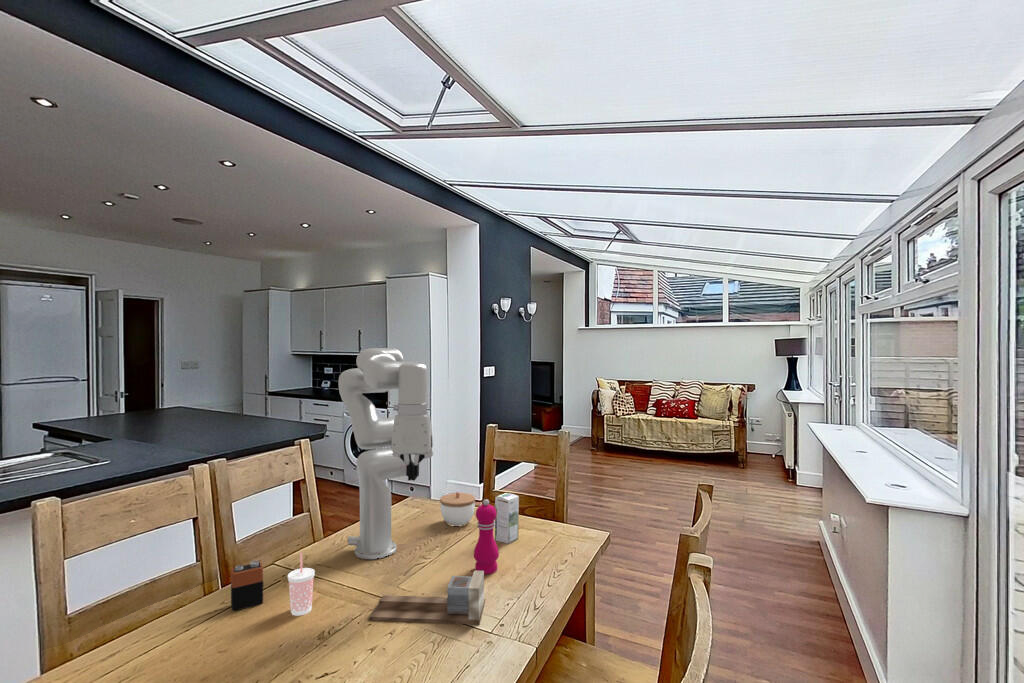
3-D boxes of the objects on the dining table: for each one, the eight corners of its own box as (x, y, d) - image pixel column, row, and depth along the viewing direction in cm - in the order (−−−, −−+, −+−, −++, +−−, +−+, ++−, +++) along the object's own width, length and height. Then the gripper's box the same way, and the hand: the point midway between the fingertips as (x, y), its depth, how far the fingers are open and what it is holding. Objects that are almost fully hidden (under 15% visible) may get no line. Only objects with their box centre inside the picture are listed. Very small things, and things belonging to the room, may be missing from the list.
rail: (369, 620, 116) (369, 585, 116) (383, 598, 126) (383, 566, 126) (479, 624, 114) (479, 589, 114) (485, 602, 124) (485, 569, 124)
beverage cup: (287, 607, 122) (287, 550, 122) (314, 601, 125) (314, 545, 125) (287, 619, 117) (287, 559, 117) (315, 614, 119) (315, 555, 119)
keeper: (447, 613, 117) (447, 587, 117) (452, 600, 123) (452, 575, 123) (468, 614, 117) (468, 588, 117) (472, 601, 123) (472, 576, 123)
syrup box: (504, 535, 168) (504, 492, 168) (519, 539, 165) (519, 495, 165) (494, 540, 163) (494, 496, 164) (509, 544, 160) (508, 499, 160)
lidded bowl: (435, 528, 174) (435, 497, 174) (446, 516, 187) (446, 486, 187) (470, 530, 172) (470, 498, 172) (478, 518, 185) (478, 488, 185)
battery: (263, 604, 124) (263, 563, 124) (232, 612, 120) (232, 570, 120) (261, 596, 127) (261, 557, 128) (230, 604, 124) (230, 563, 124)
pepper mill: (495, 576, 138) (495, 504, 138) (470, 573, 140) (470, 502, 140) (501, 565, 145) (501, 496, 145) (477, 562, 147) (477, 494, 147)
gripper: (380, 411, 129) (380, 482, 129) (437, 412, 127) (437, 483, 128) (389, 407, 136) (389, 474, 136) (443, 408, 135) (443, 475, 135)
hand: (412, 478), depth 132 cm, fingers closed
